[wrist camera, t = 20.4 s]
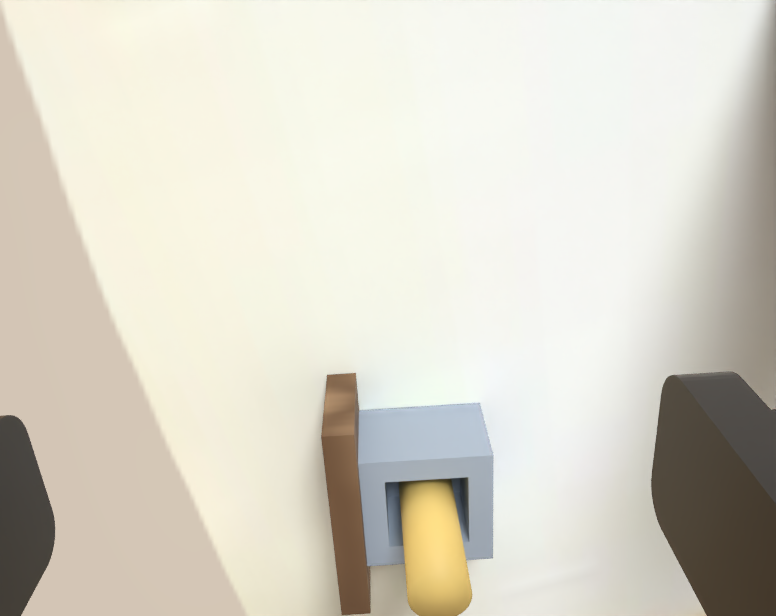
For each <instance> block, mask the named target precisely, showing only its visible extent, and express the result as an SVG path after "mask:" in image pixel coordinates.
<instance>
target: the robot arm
mask: <svg viewBox="0 0 776 616" xmlns="http://www.w3.org/2000/svg"><path fill="white" fill-rule="evenodd" d="M651 487H652V498H653V504H654V509H655V513H656V516H657V520H658V522H659V525H660V527H661V529H662V531H663V533H664V535H665V537H666V539H667V541H668V543H669V545H670V546H671V548H672V550H673V552H674V554H675V556H676V558H677V560H678V562H679V564H680V565H681V567H682V569H683V571H684V573H685V575H686V577H687V579H688V581H689V583H690V584H691V586H692V588H693V590H694V592H695V594H696V596H697V598H698V600H699V602H700V603H701V605H702V607H703V609H704V611H705V613H706V615H707V616H776V410H770V408H769V407H768V406H767V405H766V404H765V403H764V402H763V401H762V400H761V399H760V398H759V396H758V395H757V394H756V393H755V392H754V391H753V390H752V389H751V388H750V387H749V386H748V384H747V383H746V382H745V381H744V380H743V379H742V378H741V377H740V376H739V375H738V374H736V373H734V372H716V373H700V374H684V375H671V376H669V377H668V378H667V379H666V380H665V383H664V385H663V388H662V394H661V401H660V410H659V418H658V426H657V435H656V443H655V452H654V460H653V469H652V479H651ZM54 540H55V521H54V515H53V511H52V507H51V504H50V501H49V498H48V495H47V492H46V489H45V486H44V482H43V479H42V476H41V473H40V470H39V467H38V464H37V460H36V457H35V455H34V451H33V448H32V445H31V442H30V439H29V436H28V433H27V430H26V428H25V426H24V424H23V423H22V421H21V420H20V419H19V418H17V417H15V416H11V415H7V416H0V616H21V614H22V612H23V611H24V609H25V607H26V605H27V603H28V601H29V599H30V598H31V596H32V594H33V592H34V590H35V588H36V586H37V584H38V582H39V581H40V579H41V577H42V575H43V573H44V571H45V570H46V568H47V566H48V563H49V561H50V558H51V555H52V551H53V547H54Z"/></svg>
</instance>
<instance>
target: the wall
mask: <svg viewBox="0 0 776 616" xmlns="http://www.w3.org/2000/svg"><path fill="white" fill-rule="evenodd" d="M321 438H322V446H323V455H324V464H325V473H326V481H327V490H328V499H329V507H330V516H331V525H332V533H333V542H334V551H335V559H336V568H337V577H338V585H339V594H340V603H341V611H342V615H350V614H366V613H370V566H367V556H366V545H365V535H364V524H363V513H362V502H361V491H360V480H359V469H358V438H359V405H358V394H357V382H356V373H351V374H336V375H327V384H326V395H325V405H324V415H323V426H322V436H321Z"/></svg>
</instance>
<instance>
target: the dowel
mask: <svg viewBox="0 0 776 616" xmlns="http://www.w3.org/2000/svg"><path fill="white" fill-rule="evenodd" d="M398 483H399V496H400V508H401V521H402V533H403V546H404V559H405V571H406V584H407V596H408V603H409V606H410V608H411V609H412V610H413V611H414V612H415V613H416V614H417V615H419V616H457V615H459V614H461V613H462V612H463V611H464V610H466V608H467V607H468V606H469V604H470V602H471V599H472V590H471V584H470V579H469V573H468V568H467V562H466V557H465V551H464V546H463V540H462V535H461V529H460V524H459V519H458V513H457V508H456V502H455V497H454V491H453V486H452V480H451V478H448V479H432V480H416V481H401V482H398Z"/></svg>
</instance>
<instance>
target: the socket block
mask: <svg viewBox="0 0 776 616" xmlns="http://www.w3.org/2000/svg"><path fill="white" fill-rule="evenodd" d="M358 469H359V480H360V491H361V502H362V513H363V524H364V535H365V545H366V556H367V566H378V565H394V564H405V559H404V546H403V533H402V521H401V508H400V496H399V483H398V482H401V481H416V480H432V479H448V478H451V480H452V486H453V491H454V497H455V502H456V508H457V513H458V519H459V524H460V529H461V535H462V540H463V546H464V551H465V557H466V560H474V559H490V558H493V452H492V448H491V444H490V441H489V437H488V433H487V429H486V425H485V421H484V418H483V414H482V410H481V406H480V403H473V404H457V405H441V406H425V407H410V408H394V409H378V410H362V411H359V438H358Z"/></svg>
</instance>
